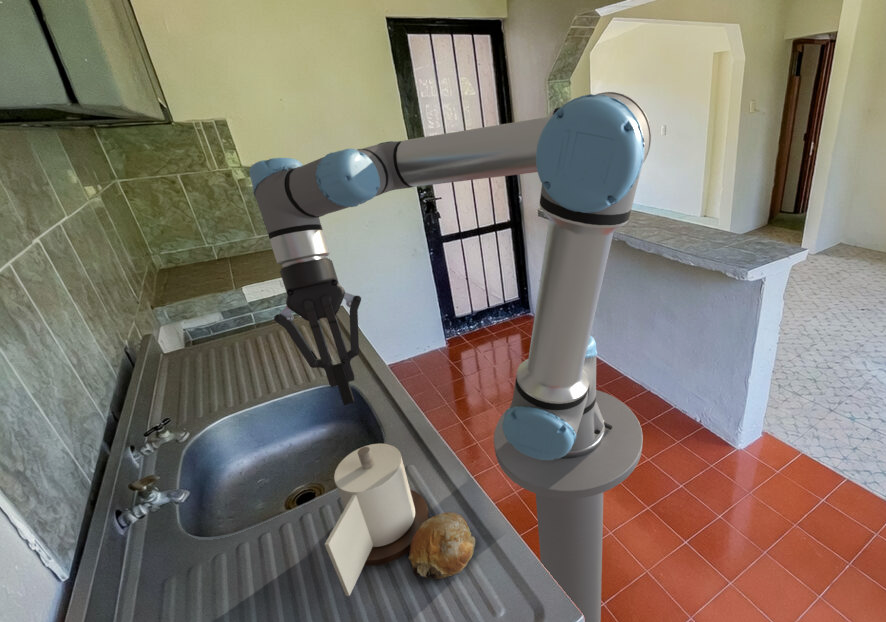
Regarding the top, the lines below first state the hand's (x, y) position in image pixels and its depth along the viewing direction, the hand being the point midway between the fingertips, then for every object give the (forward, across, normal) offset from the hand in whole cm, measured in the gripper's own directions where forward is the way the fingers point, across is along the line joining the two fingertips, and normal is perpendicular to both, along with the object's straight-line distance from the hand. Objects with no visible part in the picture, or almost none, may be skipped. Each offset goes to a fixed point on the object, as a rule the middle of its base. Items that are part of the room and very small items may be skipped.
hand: (349, 402), depth 75 cm
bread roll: (+27, -7, +9) cm, 29 cm away
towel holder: (+23, 0, 0) cm, 23 cm away
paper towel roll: (+22, +3, +3) cm, 22 cm away
